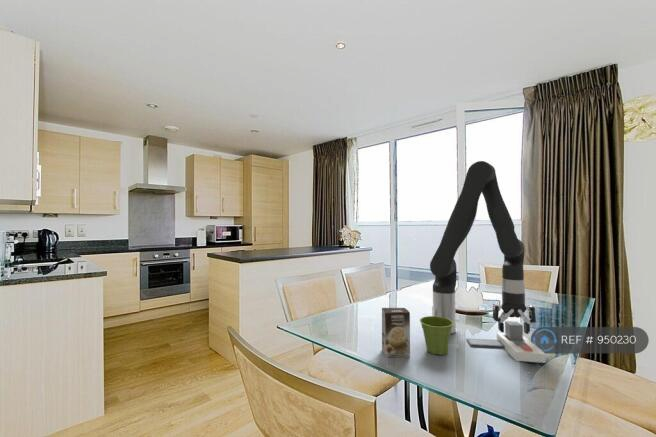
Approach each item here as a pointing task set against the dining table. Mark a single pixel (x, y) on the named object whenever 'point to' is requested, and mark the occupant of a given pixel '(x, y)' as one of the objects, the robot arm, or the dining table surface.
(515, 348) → the power strip
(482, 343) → the phone
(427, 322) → the plant pot
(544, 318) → the dining table surface
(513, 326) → the block
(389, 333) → the coffee box
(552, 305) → the dining table surface
